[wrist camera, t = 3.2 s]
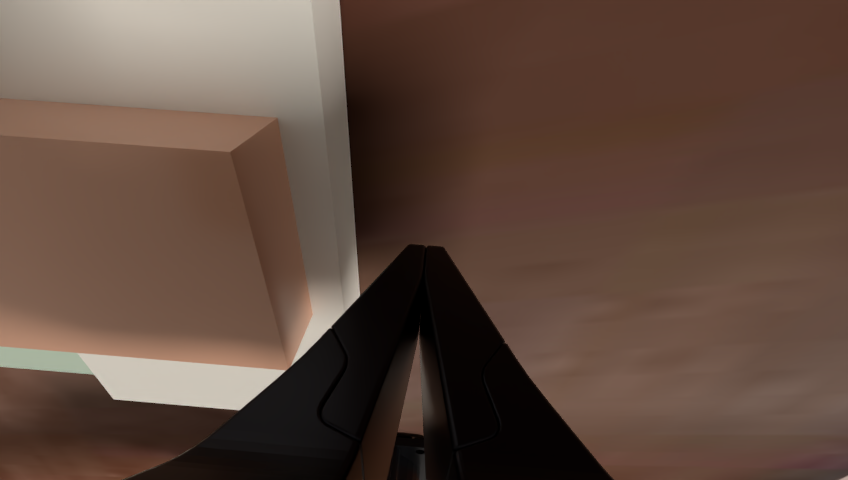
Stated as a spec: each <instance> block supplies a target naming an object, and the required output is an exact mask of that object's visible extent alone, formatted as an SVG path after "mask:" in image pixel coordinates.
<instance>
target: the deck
mask: <svg viewBox="0 0 848 480" xmlns="http://www.w3.org/2000/svg"><path fill="white" fill-rule="evenodd" d="M0 98H6V99H20V100H34V101H49V102H63V103H77V104H91V105H105V106H120V107H134V108H148V109H162V110H176V111H191V112H205V113H219V114H233V115H247V116H262V117H276V118H278V123H279V129H280V134H281V140H282V145H283V151H284V157H285V162H286V168H287V173H288V179H289V184H290V190H291V196H292V201H293V207H294V212H295V218H296V223H297V229H298V235H299V240H300V246H301V251H302V257H303V262H304V268H305V274H306V279H307V285H308V290H309V296H310V301H311V307H312V313H313V315H312V318H311V320H310V322H309V325H308V327H307V329H306V332H305V334H304V336H303V339H302V341H301V344H300V346H299V348H298V351H297V353H296V355H295V358H294V360H293V362H292V365H293V364H294V363H295V362H296V361H297V360H298V359H299V358H301V357H302V356H303V355H304V354H305V353H306V352H307V351H308V350H309V349H310V348H311V347H312V346H313V345H314V344H315V343H316V342H317V341H318V340H319V339H320V338H321V336H322V335H323V334H324V333H325V332H326V331H327V330H328V329H329V328H331V326H332V325H333V324H334V323H335V322H336V321H337V320H338V319H339V318H340V317H341V316H342V314H343V313H344V312H345V311H346V310H347V309H348V308H349V307H350V306H351V305H352V304H353V303H354V302H355V301H356V300H357V299H358V298H359V297H360V290H359V275H358V261H357V246H356V232H355V217H354V203H353V188H352V174H351V160H350V145H349V131H348V116H347V102H346V87H345V73H344V58H343V44H342V30H341V15H340V1H339V0H0ZM78 355H79V356H80V357H81V359H82V360H83V361H84V362H85V364H86V365H87V366H88V367H89V369H90V370H91V371H92V373H93V374H94V375H95V376H96V378H97V379H98V380H99V381H100V383H101V384H102V385H103V387H104V388H105V389H106V390H107V392H108V393H109V394H110V395H111V397H112V398H113V399H115V400H126V401H138V402H150V403H161V404H173V405H184V406H196V407H208V408H219V409H231V410H240V409H242V408H243V407H244V406H245V405H246V404H247V403H249V402H250V401H251V400H252V399H253V398H255V397H256V396H257V395H258V394H259V393H260V392H262V391H263V390H264V389H265V388H266V387H268V386H269V385H270V384H271V383H272V382H273V381H275V380H276V379H277V378H278V377H279V376H280V375H281V374H283V373H284V372H285V371H286V370H276V369H264V368H252V367H240V366H228V365H216V364H204V363H192V362H180V361H168V360H156V359H144V358H133V357H121V356H109V355H97V354H85V353H78ZM292 365H291V366H292Z"/></svg>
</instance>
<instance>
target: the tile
mask: <svg viewBox="0 0 848 480" xmlns="http://www.w3.org/2000/svg"><path fill="white" fill-rule="evenodd" d="M312 315H313V313H312V307H311V301H310V296H309V290H308V285H307V279H306V274H305V268H304V262H303V257H302V251H301V246H300V240H299V235H298V229H297V223H296V218H295V212H294V207H293V201H292V196H291V190H290V184H289V179H288V173H287V168H286V162H285V157H284V151H283V145H282V140H281V134H280V129H279V123H278V118H276V117H262V116H247V115H233V114H219V113H205V112H191V111H176V110H162V109H148V108H134V107H120V106H105V105H91V104H77V103H63V102H49V101H34V100H20V99H6V98H0V346H1V347H13V348H25V349H37V350H49V351H61V352H73V353H85V354H97V355H109V356H121V357H133V358H144V359H156V360H168V361H180V362H192V363H204V364H216V365H228V366H240V367H252V368H264V369H276V370H287V369H288V368H289V367H290V366H291V365H292V362H293V360H294V358H295V355H296V353H297V351H298V348H299V346H300V344H301V341H302V339H303V336H304V334H305V332H306V329H307V327H308V325H309V322H310V320H311V318H312Z"/></svg>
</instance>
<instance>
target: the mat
mask: <svg viewBox="0 0 848 480" xmlns="http://www.w3.org/2000/svg"><path fill="white" fill-rule="evenodd" d="M0 367H11V368H23V369H34V370H46V371H58V372H70V373H82V374H93V373H92V371H91V370H90V369H89V367H88V366H87V365H86V364H85V362H84V361H83V360H82V359H81V357H80V356H79V355H78V353H73V352H61V351H49V350H37V349H25V348H13V347H1V346H0ZM93 375H94V374H93Z"/></svg>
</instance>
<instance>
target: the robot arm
mask: <svg viewBox="0 0 848 480" xmlns="http://www.w3.org/2000/svg"><path fill="white" fill-rule="evenodd" d="M420 315H421V317H420ZM419 327H420V332H419ZM418 335H419V345H420V367H421V388H422V410H423V432H424V440H422V439H412V438H401V437H396V436H397V431H398V427H399V422H400V418H401V413H402V409H403V404H404V400H405V395H406V391H407V386H408V381H409V377H410V372H411V368H412V363H413V359H414V354H415V350H416V345H417V340H418ZM123 480H614V479H613V478H612V477H611V476H610V475H609V474H608V473H607V472H606V471H605V469H604V468H603V467H602V466H601V465H600V464H599V463H598V461H597V460H596V459H595V458H594V456H593V455H592V454H591V453H590V452H589V450H588V449H587V448H586V447H585V446H584V444H583V443H582V442H581V441H580V439H579V438H578V437H577V436H576V435H575V433H574V432H573V431H572V430H571V428H570V427H569V426H568V425H567V424H566V422H565V421H564V420H563V419H562V418H561V416H560V415H559V414H558V413H557V411H556V410H555V409H554V408H553V407H552V405H551V404H550V403H549V402H548V400H547V399H546V398H545V397H544V395H543V394H542V393H541V392H540V390H539V389H538V388H537V387H536V385H535V384H534V383H533V381H532V380H531V379H530V378H529V376H528V375H527V373H526V372H525V370H524V369H523V367H522V366H521V365H520V363H519V362H518V360H517V359H516V357H515V356H514V354H513V353H512V351H511V350H510V348H509V346H508V345H507V344H506V343H505V341H504V339H503V338H502V336H501V334H500V333H499V331H498V330H497V328H496V327H495V325H494V324H493V322H492V321H491V319H490V318H489V316H488V314H487V313H486V311H485V310H484V308H483V307H482V305H481V304H480V302H479V301H478V299H477V298H476V296H475V295H474V293H473V291H472V290H471V288H470V287H469V285H468V284H467V282H466V281H465V279H464V278H463V276H462V275H461V273H460V271H459V270H458V268H457V267H456V265H455V264H454V262H453V261H452V259H451V258H450V256H449V255H448V253H447V251H446V250H445V248H443V247H440V246H427V247H425V246H424V245H416V244H409V245H408V246H407V247H406V248H405V249H404V250H403V251H402V252H401V253H400V254H399V255H398V256H397V257H396V258H395V260H394V261H393V262H392V263H391V264H390V265H389V266H388V267H387V268H386V269H385V270H384V271H383V272H382V273H381V274H380V275H379V276H378V277H377V279H376V280H375V281H374V282H373V283H372V284H371V285H370V286H369V287H368V288H367V289H366V290H365V291H364V292H363V293H362V294H361V295H360V297H359V298H358V299H357V300H356V301H355V302H354V303H353V304H352V305H351V306H350V307H349V308H348V309H347V310H346V311H345V312H344V313H343V314H342V316H341V317H340V318H339V319H338V320H337V321H336V322H335V323H334V324H333V325H332V326H331V328H329V329H328V330H327V331H326V332H325V333H324V334H323V335H322V336H321V338H320V339H319V340H318V341H317V342H316V343H315V344H314V345H313V346H312V347H311V348H310V349H309V350H308V351H307V352H306V353H305V354H304V355H303V356H302V357H301V358H299V359H298V360H297V361H296V362H295V363H294V364H293V365H292V366H290V367H289V368H288V369H287V370H286V371H285V372H284V373H283V374H281V375H280V376H279V377H278V378H277V379H276V380H275V381H273V382H272V383H271V384H270V385H269V386H268V387H266V388H265V389H264V390H263V391H262V392H260V393H259V394H258V395H257V396H256V397H255V398H253V399H252V400H251V401H250V402H249V403H247V404H246V405H245V406H244V407H243V408H242V409H240V410H239V411H238V412H237V413H236V414H234V415H233V416H232V417H231V418H230V419H229V420H227V421H226V422H225V423H224V424H223V425H222V426H220V427H219V428H218V429H217V430H215V431H214V432H213V433H212V434H210V435H209V436H208V437H207V438H205V439H204V440H202V441H201V442H200V443H198V444H197V445H195V446H194V447H192V448H191V449H189V450H187V451H186V452H184V453H183V454H181V455H179V456H177V457H175V458H173V459H171V460H170V461H167V462H165V463H163V464H160V465H158V466H156V467H153V468H151V469H148V470H145V471H143V472H140V473H138V474H135V475H133V476H130V477H128V478H125V479H123Z"/></svg>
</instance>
